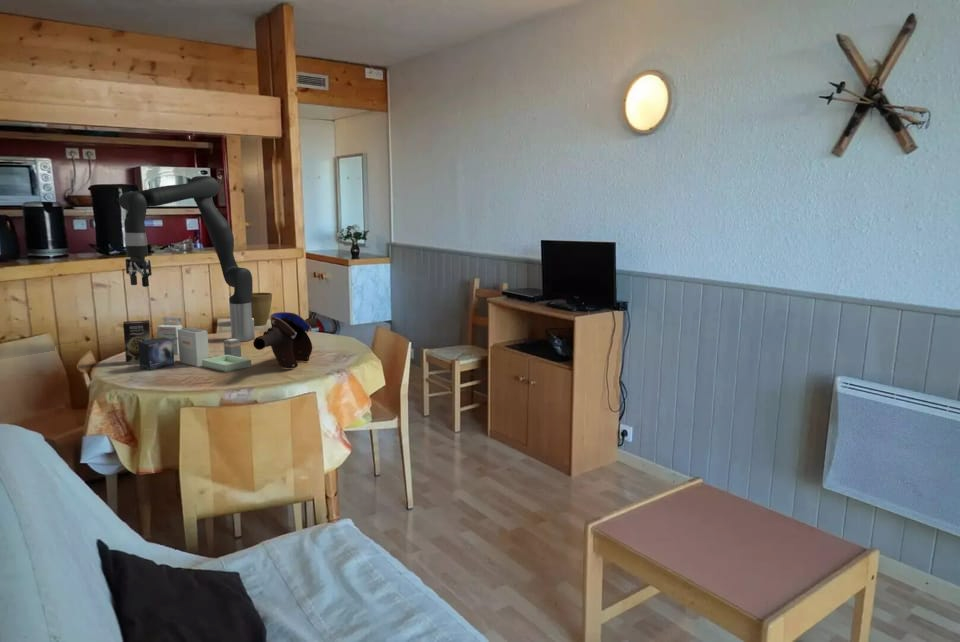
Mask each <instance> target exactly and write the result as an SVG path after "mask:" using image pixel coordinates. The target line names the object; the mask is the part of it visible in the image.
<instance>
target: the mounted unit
mask: <svg viewBox="0 0 960 642" xmlns="http://www.w3.org/2000/svg"><path fill="white" fill-rule="evenodd" d="M177 330H178V343H179V354H178V355H179V362H180V363H183V364H187V365H191V366H194V367H195V366H196V367H202V360H203V359H208V358H210V351H209V337H208V330H203V329H199V328H194V327H182V328H181V329H177Z"/></svg>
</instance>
